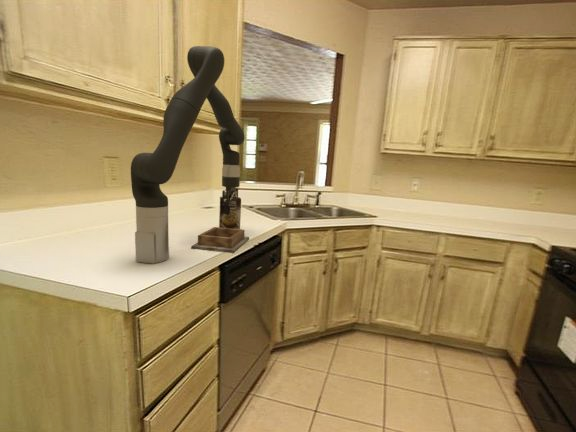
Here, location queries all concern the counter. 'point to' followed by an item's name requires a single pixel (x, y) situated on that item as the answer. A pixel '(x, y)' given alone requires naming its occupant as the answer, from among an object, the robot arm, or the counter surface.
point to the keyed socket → (221, 240)
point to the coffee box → (234, 216)
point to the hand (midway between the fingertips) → (230, 212)
